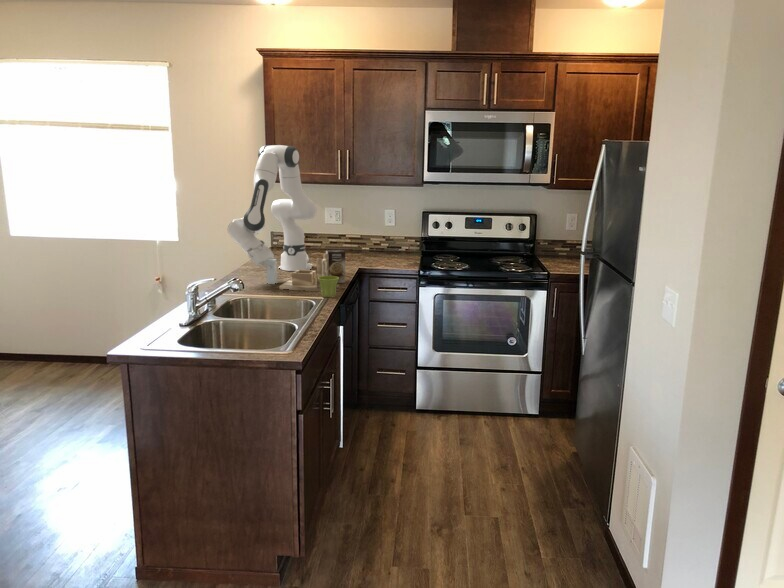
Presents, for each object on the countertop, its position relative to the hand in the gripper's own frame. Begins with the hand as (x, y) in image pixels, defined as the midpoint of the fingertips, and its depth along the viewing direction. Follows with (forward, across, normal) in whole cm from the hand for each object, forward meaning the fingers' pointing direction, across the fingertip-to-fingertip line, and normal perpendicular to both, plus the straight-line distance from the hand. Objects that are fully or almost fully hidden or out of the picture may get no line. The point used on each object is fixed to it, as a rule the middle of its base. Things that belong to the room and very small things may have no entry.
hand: (272, 267), depth 306 cm
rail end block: (+5, 0, +6) cm, 8 cm away
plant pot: (+29, -22, -18) cm, 41 cm away
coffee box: (+26, +10, -15) cm, 32 cm away
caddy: (+18, -5, -7) cm, 20 cm away
